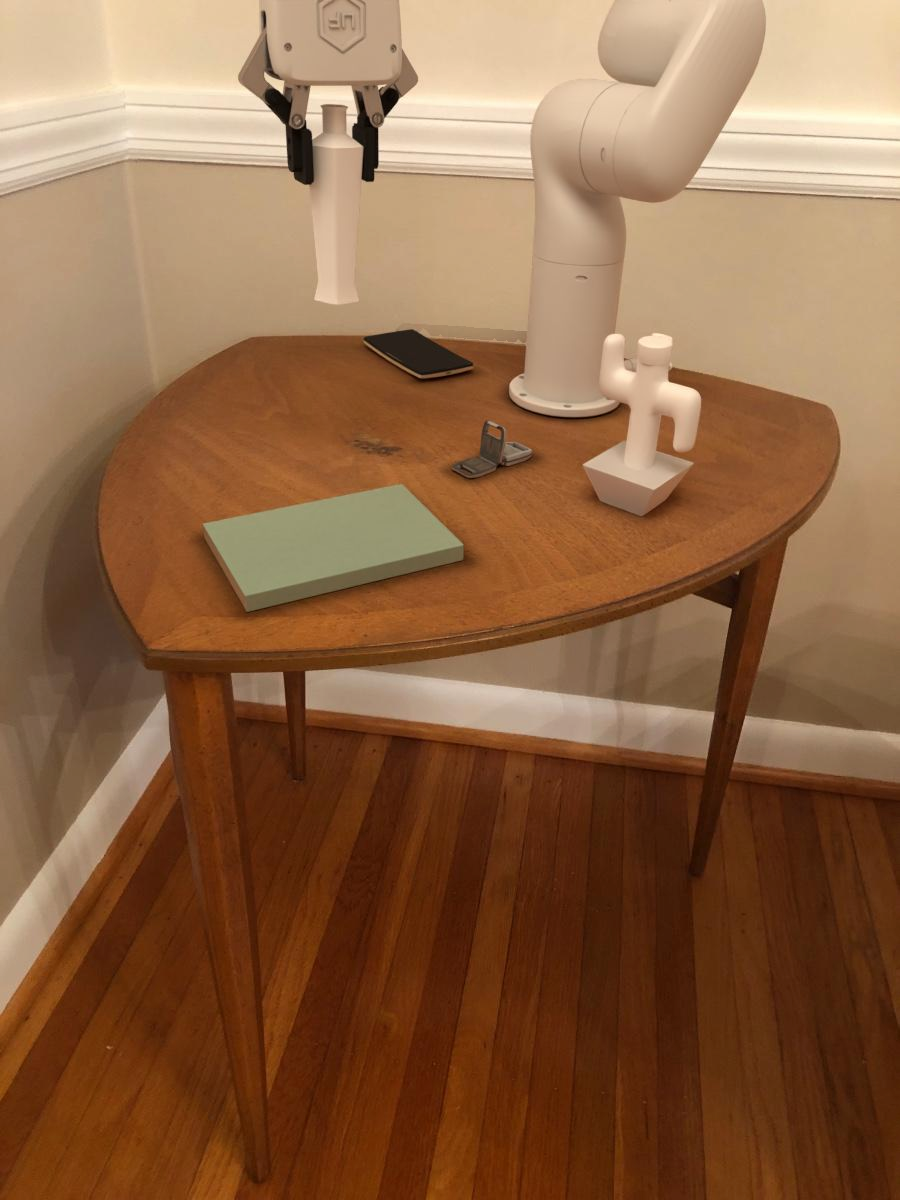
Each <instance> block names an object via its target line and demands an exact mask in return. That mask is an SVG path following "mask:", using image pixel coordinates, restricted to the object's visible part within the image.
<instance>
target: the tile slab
mask: <svg viewBox="0 0 900 1200" xmlns="http://www.w3.org/2000/svg"><path fill="white" fill-rule="evenodd" d="M202 531H203V537H204V540H205V543H206V544H207V545H208V547H209V550H210V551H211V552H212V554H213V556H214V557H215V560H216V561H217V563H218V565H219V566H220V568H221V570H222V572H223V573H224V575H225V577H226V579H227V580H228V582H229V584H230V586H231V587H232V589H233V591H234V592H235V594H236V596H237V598H238V599H239V602H240V603H241V604H242V606H243V608H244V610H245V612H246V613H250V612H253V611H259V610H262V609H266V608H271V607H275V606H279V605H283V604H287V603H291V602H296V601H299V600H305V599H308V598H312V597H316V596H317V597H318V596H320V595H325V594H328V593H333V592H337V591H341V590H346V589H350V588H353V587H358V586H362V585H366V584H370V583H374V582H379V581H383V580H387V579H391V578H394V577H399V576H403V575H408V574H411V573H416V572H421V571H424V570H429V569H433V568H437V567H441V566H444V565H445V566H446V565H449V564H453V563H458V562H462V561H464V555H465V554H464V553H465V552H464V551H465V544H464V543H463V542H462V541H461V540H460V539H459V538H458V537H457V536H456V535H455V534H454V533H453V532H452V531H451V530H450V529H449V528H448V527H446V525H445V524H444V523H443V522H442V521H441V520H440V519H439V518H437V516H435V515H434V514H433V512H431V510H430V509H429V508H428V507H426V505H424V504H423V503H422V502H421V501H420V500H419V499H418V497H416V496H415V495H414V494H413V493H412V492H411V491H410V490H409V489H408V488H407V487H406V486H405V485H404V484H403V483H399V484H394V485H388V486H383V487H378V488H373V489H369V490H364V491H359V492H353V493H349V494H345V495H344V494H343V495H338V496H333V497H328V498H323V499H319V500H313V501H309V502H304V503H298V504H293V505H289V506H284V507H278V508H273V509H268V510H263V511H258V512H252V513H249V514H243V515H238V516H233V517H227V518H223V519H218V520H213V521H208V522H204V523H202Z"/></svg>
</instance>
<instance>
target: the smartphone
mask: <svg viewBox="0 0 900 1200" xmlns="http://www.w3.org/2000/svg"><path fill="white" fill-rule="evenodd" d="M362 341H363V343H364V345H365V346H367V347H368V348H369V349H371V350H372V351H374V352H375V353H377V354H378V355H380V356H381V357H382V358H384V359H385V360H387V361H388V362H390V363H392V364H394V366H397V367H399V368H400V369H402V370H403V371H405V372H407V373H409V374H410V375H413V376H415V377H417V378H418V379H431V378H432V379H433V378H439V377H444V376H451V375H455V374H460V373H463V372H467V371H470V370H473V369H474V363H473V362H472V361H471V360H468V359H466V358H464V357H463V356H461V355H458V354H457V353H455V352H453V351H452V350H450V349H448V348H447V347H444V346H442V345H440V344H439V343H437V342H435V341H434V340H432V339H431V338H429V337H427V336H425V335H423V334H422V333H420V332H419V331H417V330H415V329H414V328H413V329H411V328H410V329H403V330H396V331H389V332H384V333H378V334H373V335H372V334H371V335H367V336H364V337H363V339H362Z"/></svg>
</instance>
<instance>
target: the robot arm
mask: <svg viewBox="0 0 900 1200" xmlns="http://www.w3.org/2000/svg"><path fill="white" fill-rule="evenodd" d="M258 3H259V4H258V5H259V13H258V18H259V19H258V20H259V21H258V23H259V36H258V38H257V39H256V42H255V43H254V46H253V47H252V49H251V51H250V52H249V54H248V56H247V58H246V60H245V62H244V63H243V65H242V66H241V69H240V71H239V73H238V75H237V80H238V82H239V84H240V85H242V86H243V87H244V88H245V89H247V90H248V91H249V92H250V93H251V94H253V95H254V96H255V97H257V98H259V99H260V100H261V101H262V102H263V104H265V105H266V107H267V108H269V110H270V111H271V112H272V113H273V114H274V115H275V116H276V117H277V119H279V121H280V122H281V123H282V124H283V125H285V126H284V127H285V141H286V142H285V143H286V159H287V168H288V171H289V172H291V173H293V177H294V178H293V179H294V180H295V181H297V182H299V183H300V184H302V185H304V186H309V185H311V184H312V183H313V182H314V169H313V145H312V139H313V132H312V130H310V129H309V128H307V127H308V126H307V119H306V116H307V111H308V106H309V105H308V104H309V99H310V92H311V87H326V86H327V87H332V86H333V87H341V86H342V87H348V86H350V87H351V91H352V95H353V100H354V105H355V108H356V109H355V110H356V113H357V116H356V122H354V123H353V125H352V127H351V137H352V138H353V139H354V140H356V141H357V142H358V143H359V144H361V145H362V146H363V147H364V148H363V164H362V179H361V181H364V182H365V183H374V182H375V170H377V169H378V168H379V163H380V162H379V161H380V160H379V159H380V157H379V155H380V153H379V150H380V147H379V144H380V143H379V128H381V127H382V126H383V125H384V124H385V118H386V117H387V116H388V115H389V114H390V112H392V110H393V109H394V107H396V105H397V104H398V102H399V101H400V99H401V98H403V97H405V96H406V95H407V94H408V93H409V92H410V91H411V90H412V89H413V88H414V87H416V85H417V84H418V82H419V76H418V74H417V72H416V70H415V69H414V67H413V65H412V63H411V62H410V60H409V58H408V56H407V55H406V53H405V51H404V49H403V44H402V41H403V40H402V22H401V9H400V8H401V6H400V0H259V2H258ZM766 27H767V15H766V7H765V4H764V1H763V0H614V1H613V3H612V4H611V7H610V8H609V10H608V12H607V14H606V17H605V19H604V21H603V23H602V27H601V29H600V32H599V36H598V41H597V54H598V59H599V63H600V66H601V67H602V69H603V71H604V72H605V73H606V74H607V75H608V76H609V77H610V78H612V79H613V80H606V79H597V78H578V79H571V80H567V81H564V82H562V83H560V84H558V85H556V86H554V87H553V88H552V89H550V90H549V91H548V92H547V93H546V94H545V95H544V97H543V98H542V100H541V101H540V102H539V104H538V105H537V108H536V110H535V112H534V114H533V118H532V122H531V127H530V135H529V137H530V139H529V140H530V143H529V145H530V147H529V148H530V159H531V167H532V175H533V176H532V177H533V187H534V228H533V242H532V244H533V245H532V258H531V259H532V260H531V273H530V286H529V287H530V288H529V298H528V299H529V300H528V302H529V303H528V314H527V327H526V328H527V329H526V330H527V331H526V343H525V356H524V357H525V358H524V369H523V371H524V372H523V373H521V374H519V375H516V376H515V377H514V378H512V379H511V381H510V383H509V385H508V386H509V387H508V395H509V399H511V400H512V402H514V403H515V404H516V405H517V406H519V407H521V408H523V409H525V410H527V411H530V412H533V413H536V414H541V415H544V416H545V415H546V416H550V417H558V418H590V417H596V416H600V415H604V414H607V413H609V412H611V411H613V410H615V409H616V408H618V406H619V405H620V404H621V402H618V401H615V400H611V399H608V398H606V397H605V396H603V395H602V393H601V391H600V387H599V378H600V368H601V360H602V351H603V344H604V341H605V339H606V337H607V336H609V335H611V334H616V327H617V318H618V311H619V304H620V294H621V287H622V279H623V269H624V262H625V257H626V249H627V225H626V218H625V213H624V209H623V205H622V201H621V198H623V199H628V200H632V201H636V202H642V203H643V202H644V203H651V204H653V203H655V204H656V203H662V202H666V201H669V200H672V199H673V198H674V197H676V196H678V195H679V194H680V193H681V192H683V191H684V190H685V188H687V186H688V185H689V184H690V183H691V182H692V180H693V179H694V177H695V176H696V175H697V173H698V171H699V170H700V168H701V166H702V165H703V163H704V161H705V160H706V158H707V156H708V155H709V153H710V151H711V149H712V148H713V147H714V144H715V143H716V141H717V139H718V138H719V136H720V134H721V133H722V131H723V129H724V128H725V126H726V124H727V123H728V121H729V119H730V117H731V115H732V114H733V112H734V110H735V108H736V107H737V105H738V103H739V102H740V100H741V98H742V96H743V95H744V93H745V91H746V90H747V88H748V85H749V83H750V82H751V80H752V78H753V76H754V74H755V72H756V69H757V67H758V65H759V62H760V58H761V56H762V52H763V49H764V48H763V47H764V43H765V37H766V30H767V29H766ZM265 74H266V75H268V76H269V77H271V78H273V79H275V80H278V81H283V88H282V92H281V91H280V90H279V89H277V88H275V87H274V86H273V85H272V84H271V83H270V82H268V81H267V80H266V77H265ZM379 86H381V87H380V88H379ZM624 366H625V369H626V370H628V371H632V372H636V369H637V357H633V358H627V359H624Z"/></svg>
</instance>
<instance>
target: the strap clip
mask: <svg viewBox="0 0 900 1200" xmlns="http://www.w3.org/2000/svg"><path fill="white" fill-rule="evenodd" d="M490 426H491V427H493V428H495V429H497V430H499V431H500V437H497V436H495V435H493V434H491V433H489V428H490ZM480 437H481V438H480V446H479V455H480V456H474V457H471V458H467V459H464V460H461V461H458V462H456V463H454V464H452V465H451V470H452V471H455V472H457V473H459V474H461V475H462V476H463V477H466V478H470V479H474V478H481V477H483V476H485V475H488V474H490V473H493V472H495V471H496V470H497V467H498V466H499V465H501V466H504V467H510V466H513V465H517V464H521V463H523V462H526V461H528V460H529V459H530V458H531V457H532V456H533V449H531V448H530V447H528V446H526V445H524V444H521V443H519V442H516V441H507V431H506V428H505V427H504V426H502V425H499V424H498V423H495V422H494V421H491V420H488V419H487V420H485V421H484V423H483V426H482V429H481V436H480ZM463 469H465V470H467V471H469V472H467V471H465V470H463ZM470 472H471V473H470Z"/></svg>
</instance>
